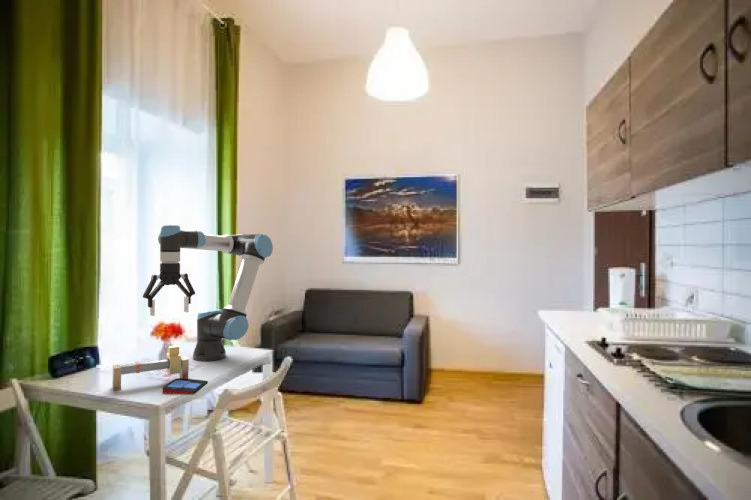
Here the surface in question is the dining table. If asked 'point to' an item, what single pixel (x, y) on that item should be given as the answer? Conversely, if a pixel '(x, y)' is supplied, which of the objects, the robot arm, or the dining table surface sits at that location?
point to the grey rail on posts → (145, 369)
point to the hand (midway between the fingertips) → (169, 313)
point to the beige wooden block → (174, 360)
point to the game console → (184, 386)
